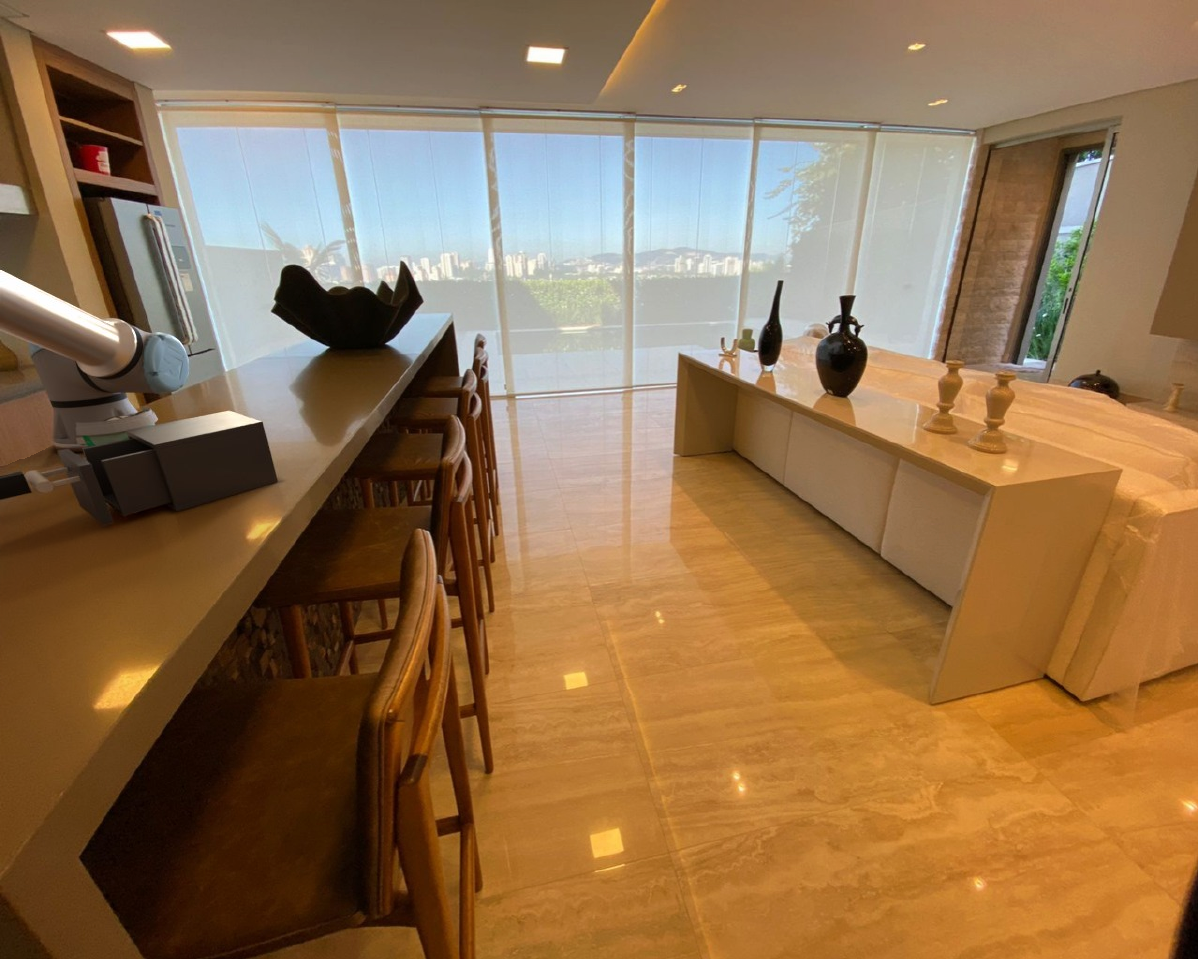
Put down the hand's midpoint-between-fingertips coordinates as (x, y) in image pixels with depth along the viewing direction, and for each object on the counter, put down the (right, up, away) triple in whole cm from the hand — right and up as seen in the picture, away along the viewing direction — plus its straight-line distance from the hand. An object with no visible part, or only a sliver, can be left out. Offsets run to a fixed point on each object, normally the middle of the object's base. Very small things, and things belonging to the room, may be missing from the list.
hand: (26, 482), depth 70 cm
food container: (-8, +2, +27) cm, 28 cm away
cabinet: (+12, -1, +18) cm, 22 cm away
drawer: (+5, -3, +10) cm, 11 cm away
